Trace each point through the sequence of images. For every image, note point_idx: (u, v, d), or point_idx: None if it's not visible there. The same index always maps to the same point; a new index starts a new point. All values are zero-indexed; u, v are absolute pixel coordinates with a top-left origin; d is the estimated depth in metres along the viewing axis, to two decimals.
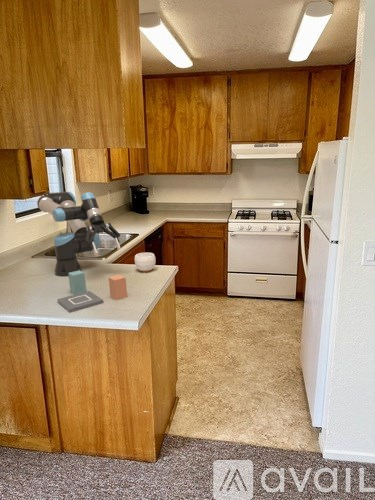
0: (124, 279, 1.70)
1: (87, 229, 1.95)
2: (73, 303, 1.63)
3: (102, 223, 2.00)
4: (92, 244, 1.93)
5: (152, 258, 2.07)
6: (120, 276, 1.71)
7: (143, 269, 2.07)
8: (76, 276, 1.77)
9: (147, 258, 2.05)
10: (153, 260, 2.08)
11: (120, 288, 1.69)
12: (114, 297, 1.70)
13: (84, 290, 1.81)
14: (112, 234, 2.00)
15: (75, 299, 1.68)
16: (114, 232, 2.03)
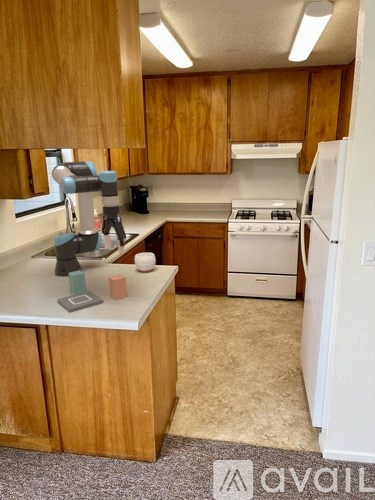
0: (124, 279, 1.70)
1: None
2: (73, 303, 1.63)
3: (111, 216, 1.61)
4: None
5: (152, 258, 2.07)
6: (120, 276, 1.71)
7: (143, 269, 2.07)
8: (76, 276, 1.77)
9: (147, 258, 2.05)
10: (153, 260, 2.08)
11: (120, 288, 1.69)
12: (114, 297, 1.70)
13: (84, 290, 1.81)
14: None
15: (75, 299, 1.68)
16: None
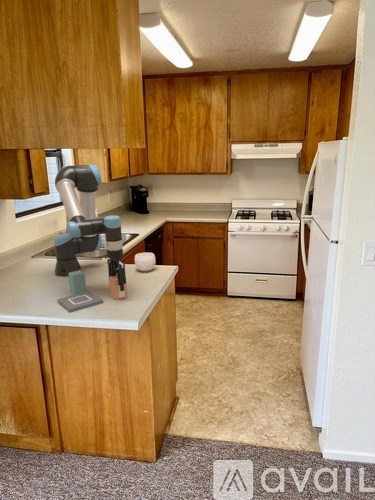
0: None
1: None
2: (73, 303, 1.63)
3: (116, 259, 1.65)
4: None
5: (152, 258, 2.07)
6: None
7: (143, 269, 2.07)
8: (76, 276, 1.77)
9: (147, 258, 2.05)
10: (153, 260, 2.08)
11: None
12: (114, 297, 1.70)
13: (84, 290, 1.81)
14: None
15: (75, 299, 1.68)
16: None
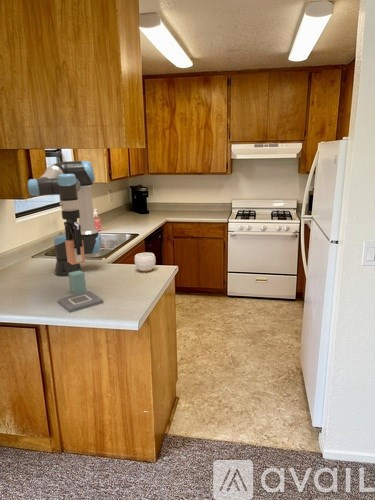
0: None
1: (65, 225, 1.63)
2: (73, 303, 1.63)
3: (71, 220, 1.55)
4: None
5: (152, 258, 2.07)
6: None
7: (143, 269, 2.07)
8: (76, 276, 1.77)
9: (147, 258, 2.05)
10: (153, 260, 2.08)
11: None
12: (70, 262, 1.60)
13: (84, 290, 1.81)
14: None
15: (75, 299, 1.68)
16: None
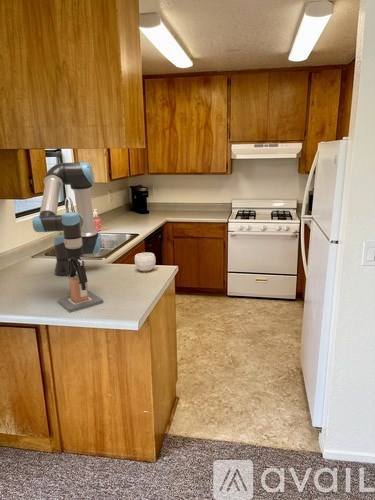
0: None
1: None
2: (73, 303, 1.63)
3: (74, 258, 1.60)
4: None
5: (152, 258, 2.07)
6: None
7: (143, 269, 2.07)
8: (76, 276, 1.77)
9: (147, 258, 2.05)
10: (153, 260, 2.08)
11: None
12: (74, 300, 1.64)
13: None
14: (78, 277, 1.60)
15: None
16: None
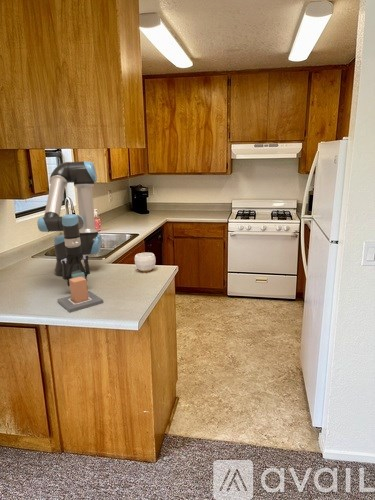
0: (85, 281, 1.64)
1: (62, 264, 1.74)
2: (73, 303, 1.63)
3: (80, 253, 1.78)
4: None
5: (152, 258, 2.07)
6: (80, 278, 1.65)
7: (143, 269, 2.07)
8: (76, 276, 1.77)
9: (147, 258, 2.05)
10: (153, 260, 2.08)
11: (80, 291, 1.64)
12: (74, 300, 1.64)
13: None
14: (82, 271, 1.80)
15: None
16: (86, 267, 1.82)
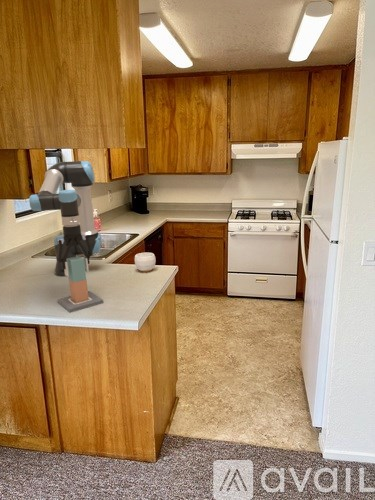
0: (85, 281, 1.64)
1: (58, 244, 1.56)
2: (73, 303, 1.63)
3: (79, 234, 1.60)
4: None
5: (152, 258, 2.07)
6: None
7: (143, 269, 2.07)
8: (75, 261, 1.59)
9: (147, 258, 2.05)
10: (153, 260, 2.08)
11: (80, 291, 1.64)
12: (74, 300, 1.64)
13: (84, 278, 1.64)
14: (84, 252, 1.63)
15: None
16: (87, 248, 1.65)
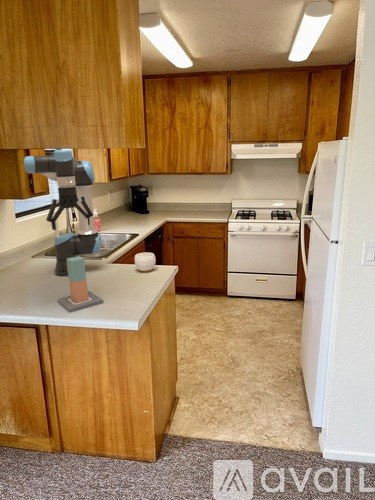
0: (85, 281, 1.64)
1: (53, 203, 1.51)
2: (73, 303, 1.63)
3: (74, 197, 1.56)
4: (55, 225, 1.53)
5: (152, 258, 2.07)
6: None
7: (143, 269, 2.07)
8: (75, 261, 1.59)
9: (147, 258, 2.05)
10: (153, 260, 2.08)
11: (80, 291, 1.64)
12: (74, 300, 1.64)
13: (84, 278, 1.64)
14: (83, 213, 1.60)
15: None
16: (86, 209, 1.61)
